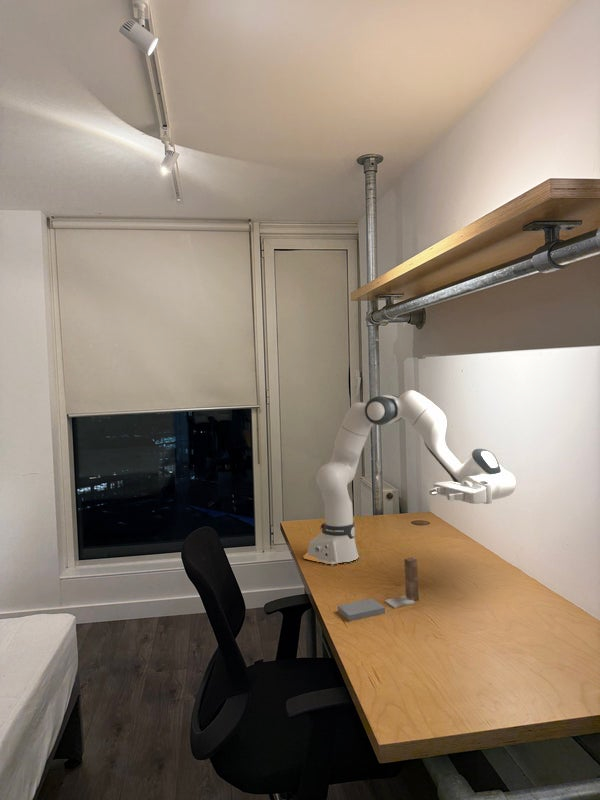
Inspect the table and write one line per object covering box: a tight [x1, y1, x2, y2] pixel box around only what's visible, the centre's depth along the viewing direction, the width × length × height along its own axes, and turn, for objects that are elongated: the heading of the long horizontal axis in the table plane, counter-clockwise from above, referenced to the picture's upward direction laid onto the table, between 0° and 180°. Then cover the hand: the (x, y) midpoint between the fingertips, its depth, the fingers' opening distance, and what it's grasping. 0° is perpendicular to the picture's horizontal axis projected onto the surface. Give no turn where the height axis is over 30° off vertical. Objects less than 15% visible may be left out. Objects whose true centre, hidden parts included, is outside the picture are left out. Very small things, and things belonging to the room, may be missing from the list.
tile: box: [337, 597, 386, 622], centre depth 172 cm, size 2×8×12 cm
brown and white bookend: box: [384, 557, 420, 609], centre depth 178 cm, size 10×6×13 cm, turn 113°
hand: (439, 495), depth 183 cm, fingers open, 8 cm apart
